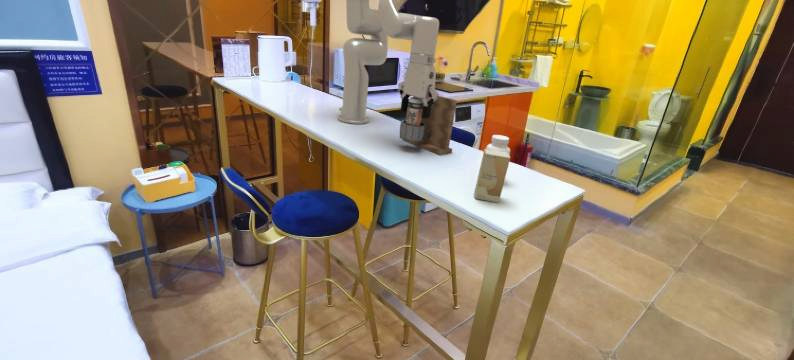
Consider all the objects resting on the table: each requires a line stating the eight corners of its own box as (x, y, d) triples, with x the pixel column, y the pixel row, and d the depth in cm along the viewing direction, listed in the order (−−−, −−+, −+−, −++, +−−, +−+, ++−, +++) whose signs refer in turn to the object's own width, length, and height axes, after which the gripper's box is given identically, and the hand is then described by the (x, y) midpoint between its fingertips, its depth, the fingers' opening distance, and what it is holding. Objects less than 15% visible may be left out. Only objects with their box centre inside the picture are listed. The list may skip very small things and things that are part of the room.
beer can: (402, 135, 125) (407, 98, 121) (405, 131, 130) (410, 96, 125) (417, 137, 125) (422, 100, 120) (419, 134, 129) (424, 98, 124)
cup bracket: (383, 142, 132) (389, 90, 126) (414, 138, 142) (421, 89, 135) (420, 159, 120) (428, 102, 114) (451, 153, 130) (460, 100, 123)
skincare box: (474, 199, 96) (483, 153, 92) (473, 192, 100) (483, 147, 96) (500, 203, 96) (511, 157, 91) (498, 196, 100) (509, 151, 95)
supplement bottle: (481, 173, 114) (490, 132, 110) (504, 179, 112) (514, 136, 108) (477, 180, 109) (487, 137, 104) (501, 186, 107) (511, 142, 102)
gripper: (450, 64, 115) (442, 120, 121) (411, 56, 126) (405, 107, 133) (433, 63, 110) (425, 122, 116) (394, 55, 121) (388, 109, 128)
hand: (414, 114), depth 125 cm, fingers open, 9 cm apart
